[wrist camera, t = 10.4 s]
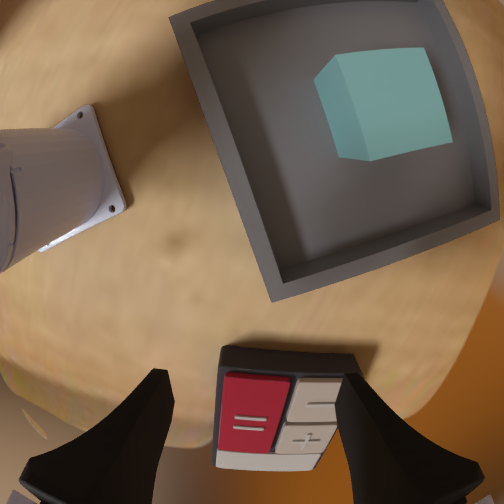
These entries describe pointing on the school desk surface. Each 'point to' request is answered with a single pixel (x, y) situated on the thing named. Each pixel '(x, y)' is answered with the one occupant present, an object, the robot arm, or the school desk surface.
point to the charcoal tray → (321, 140)
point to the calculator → (276, 407)
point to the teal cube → (382, 103)
